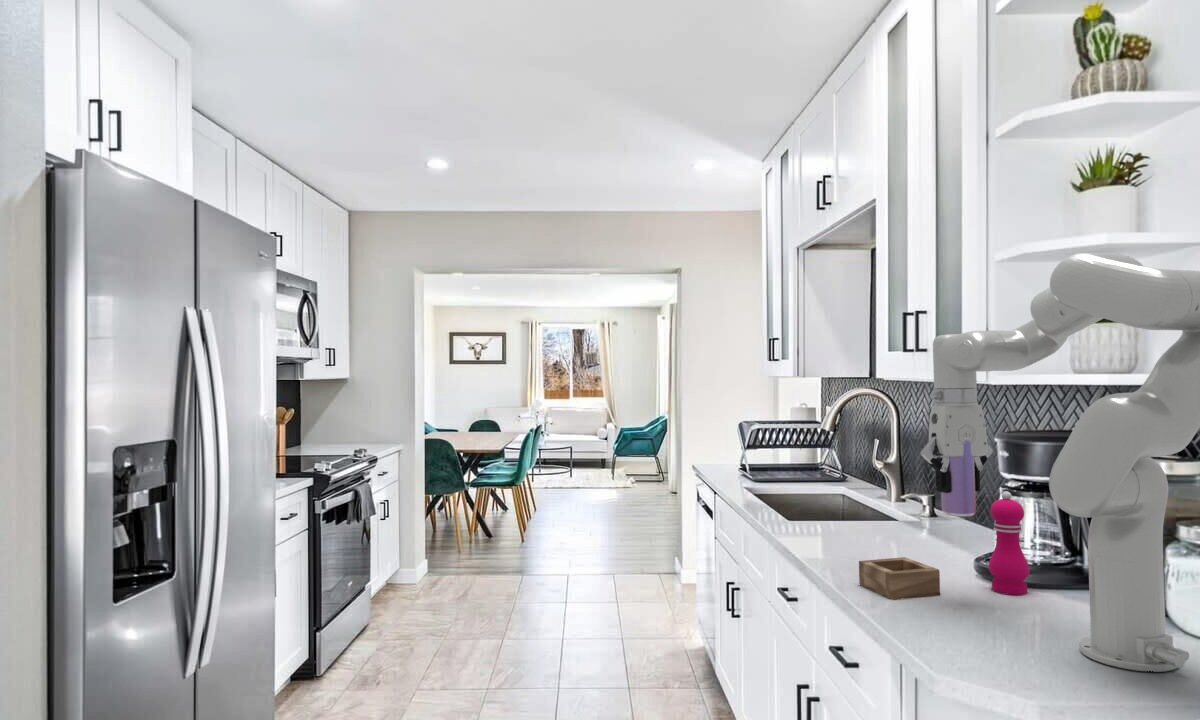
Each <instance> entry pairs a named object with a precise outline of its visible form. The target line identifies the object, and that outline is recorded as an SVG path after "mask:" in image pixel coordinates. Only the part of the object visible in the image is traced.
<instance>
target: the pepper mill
mask: <svg viewBox="0 0 1200 720" xmlns="http://www.w3.org/2000/svg"><path fill="white" fill-rule="evenodd" d="M1012 497H1013V496H1012V493H1011V492H1009V491H1003V492H1002V493H1001V499H997V500H995V501H994V502H993V503H992V504H991V506H990V511H989V512H990V517H992V518H993V520H994V521H995V522H993V530H994V531H995V532H996V543H995V547H994V550H993V552H992V554H991V556H990V557H989V562H988V571H989V573H990V575H992V577H993V579H992V580H991V589H992V590H993V592H996V593H999V594H1003V595H1007V596H1008V595H1009V596H1023V595H1026V594H1027V593H1028V583H1026V582H1025V580H1026V579H1027V578H1028V576H1029V575H1030V566H1029V564H1028V561H1027V559H1026V557H1025V555H1024V552H1023V550H1022V548H1021V545H1020V543H1021V542H1020V533H1021V532H1022V531H1023V529H1022V524H1021V523H1020V522H1021V521H1022V520H1023V519H1024V517H1025V510H1024V507H1023V506H1022V505H1021V503H1020V502H1018V501H1017V500H1014V499H1012Z"/></svg>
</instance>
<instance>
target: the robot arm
mask: <svg viewBox="0 0 1200 720" xmlns="http://www.w3.org/2000/svg"><path fill="white" fill-rule="evenodd" d="M1029 308H1030V309H1029V310H1030V315H1031V317H1032V319H1031V320H1030V321H1028V322H1026V323H1025V324H1022V325H1020V326H1019V327H1016V328H1014V329H1011V330H971V331H967V332H966V331H965V332H963V333H953V334H951V333H950V334H941V335H940V334H939V335H937V336H936V337H934V339H933V342H932V362H933V366H932V367H933V392H931V393H930V394H929V398H930V399H931V400H934V403H933V404H934V405H931V409H930V413H929V414H930V416H929V424H928V425H929V426H928V442H927V444H925V445H924V447H923V449H922V450H921V451H920V453H919V454H920V455H921V457H923V459H924V460H925V461H926V462H927V464H929V466H930V467H931V469H932V471H934V472H935V490H936V492H939V493H941V492H943V493H949V492H950V473H949V472H946V471H947V468H948V464H949V461H950V458H958V457H961V456H963V451H964V444H962V443H965V442H964V441H965V440H968V441H970V442H969V443H971V455H972V456H973V457H974V466H975V492H980V491H981V476H980V475H981V473H980V471H982V470H983V469H984V465H985V463H986V462H987V461H988V459H989V458H990V456H991V455H992V454H993V452H994V449H993V448H992V447H991V446H990V444H988V434H987V426H986V420H985V415H984V411H983V408H982V405H981V404H978V389H977V385H978V384H977V383H978V382H977V380H978V379H977V372H1007V371H1008V372H1011V371H1018V370H1022V369H1025V368H1027V367H1030V366H1032V365H1033V364H1036V363H1037V362H1040V361H1042V360H1044V359H1046V358H1048V357H1050V356H1052V355H1054V354H1055V353H1057V351H1059V349H1061V347H1062V346H1063V345H1064V344H1065V343H1066V341H1067V340H1068V338H1069V337H1070V336H1072V335H1074V334H1077V333H1078V332H1080V331H1082V330H1084V329H1085V328H1088V327H1089V326H1092V325H1093V324H1095V323H1097V322H1099V321H1102V320H1103V319H1105V320H1109V321H1112V322H1115V323H1118V324H1122V325H1125V326H1129V327H1133V328H1136V329H1143V330H1147V331H1148V330H1149V331H1182V333H1181V335H1180V337H1179V338H1178V339H1177V340H1176V341H1175V343H1173V344H1172V345H1171V346H1170V347H1168V349H1167V350H1166V351H1164V352H1163V353H1162V355H1161V356H1160V357H1159V359H1158V360H1157V361H1156V363H1155V364H1154V366H1153V369H1152V370H1151V372H1150V373H1149V375H1148V376H1147V378H1146V380H1145V381H1144V382H1143V383H1142V385H1141V386H1140V387H1139V388H1138V389H1137V390H1135V391H1133V392H1119V393H1118V392H1117V393H1112V394H1108V395H1105V396H1102V397H1101V398H1098V399H1097V400H1096V401H1094V402H1093V403H1092V404H1090V405H1088V407H1087V408H1085V410H1084V412H1083V413H1082V414H1081V416H1080V417H1079V419H1078V421H1077V422H1076V424H1075V426H1074V428H1073V429H1072V432H1071V433H1070V435H1069V436H1068V439H1067V440H1066V442H1065V443H1064V446H1063V447H1062V449H1061V450H1060V452H1059V454H1058V456H1057V457H1056V459H1055V461H1054V463H1053V465H1052V467H1051V471H1050V474H1049V477H1048V478H1049V479H1048V487H1049V493H1050V496H1051V497H1052V500H1053V502H1054V504H1056V506H1057V507H1058V509H1061V511H1063V512H1065V513H1066V514H1069V515H1071V516H1073V517H1079V518H1091V520H1090V525H1089V527H1088V535H1087V536H1088V537H1087V556H1088V557H1087V558H1088V561H1087V562H1088V588H1089V618H1090V619H1089V620H1090V622H1089V623H1090V636H1088V637H1084V638H1082V639H1081V640H1080V641H1079V651H1080V652H1081V653H1082V654H1083V655H1084V656H1086V657H1088V658H1089V659H1092V660H1094V661H1096V662H1098V663H1101V664H1104V665H1108V666H1110V667H1111V666H1112V667H1115V668H1119V669H1123V670H1124V669H1125V670H1131V671H1137V672H1138V671H1139V672H1147V671H1148V672H1149V671H1151V672H1152V671H1153V672H1152V673H1160V672H1163V673H1164V672H1170V671H1171V672H1172V671H1174V670H1176V669H1178V668H1182V667H1184V666H1185V663H1186V661H1188V660H1189V659H1190V653H1189V652H1188V651H1186V650H1183V649H1180V648H1176V647H1174V644H1173V643H1174V640H1173V639H1174V637H1173V635H1170V634H1167V632H1166V609H1165V608H1166V607H1165V606H1166V605H1165V582H1164V581H1165V580H1164V578H1165V577H1164V576H1165V575H1164V543H1163V542H1164V540H1163V539H1164V524H1165V523H1164V521H1165V514H1166V509H1167V503H1168V497H1169V483H1168V477H1167V475H1166V473H1165V471H1164V469H1163V467H1161V464H1159V463H1158V461H1156V460H1154V458H1156V457H1157V458H1158V457H1164V456H1171V455H1174V454H1177V453H1179V452H1181V451H1183V450H1184V449H1186V447H1187V446H1188V445H1189V444H1190V443H1191V441H1192V440H1193V438H1194V437H1195V436H1196V433H1197V432H1198V431H1199V429H1200V270H1190V269H1189V270H1188V269H1187V270H1182V269H1180V270H1179V269H1166V268H1165V269H1164V268H1163V269H1162V268H1154V267H1148V266H1144V265H1143V264H1142V263H1141V261H1139V260H1137V259H1136V258H1133V257H1130V256H1129V255H1124V254H1120V253H1119V254H1117V253H1106V252H1105V253H1104V252H1103V253H1102V252H1078V253H1075V254H1072V255H1070V256H1068V257H1066V258H1063V260H1061V261H1060V262H1059V263H1057V265H1056V267H1055V268H1054V269H1053V271H1052V273H1051V276H1050V279H1049V287H1048V288H1046V289H1044V290H1042V291H1041V292H1039V293H1037V294H1036V295H1035V296H1034V297H1033V298H1032V300H1031V303H1030V306H1029ZM965 438H968V439H965ZM941 454H943V455H941ZM941 459H942V460H941ZM941 461H942V462H941ZM1151 672H1149V673H1151Z"/></svg>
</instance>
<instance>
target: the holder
mask: <svg viewBox="0 0 1200 720" xmlns="http://www.w3.org/2000/svg"><path fill="white" fill-rule="evenodd" d="M858 578H859V579H858V582H859V584H860V585H859V584H858V585H859V586H861V585H862V586H861V587H863V586H864V587H863V588H865V587H866V588H865V589H867V588H868V589H867V590H869V589H871V590H873V591H872V592H874V591H875V592H874V593H876V592H877V593H876V594H878V593H879V595H880V594H881V595H880V596H882V595H883V597H884V596H885V597H884V598H887V599H889V600H891V599H894V600H902V599H901V598H904V599H912V598H913V597H914V598H922V597H923V598H924V597H934V596H941V585H940V583H941V579H940V569H939V568H935V567H934V566H930V565H928V564H925V563H922V562H920V561H916V560H913V559H911V558H908V557H905V556H903V557H902V556H901V557H893V558H892V557H891V558H880V559H879V558H877V559H869V560H858ZM871 590H870V591H871Z"/></svg>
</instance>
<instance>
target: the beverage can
mask: <svg viewBox="0 0 1200 720" xmlns="http://www.w3.org/2000/svg"><path fill="white" fill-rule="evenodd" d="M965 439H968V438H965ZM964 442H965V443H962V444H964V451H963V456H961V457H958V458H950V461H949V464H948V468H947V471H946V472H949V473H950V492H949V493H943V492H940V497H941V499H940V500H941V510H942V513H943V514H944V515H946V516H949V517H950V516H951V517H961V518H962V517H973V516H975V514H976V512H977V507H976V505H977V503H976V501H977V499H976V491H975V466H974V457H973V456H972V455H971V443H969V442H970V441H968V440H965V441H964ZM941 455H943V454H941ZM941 460H942V459H941ZM941 462H942V461H941Z"/></svg>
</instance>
